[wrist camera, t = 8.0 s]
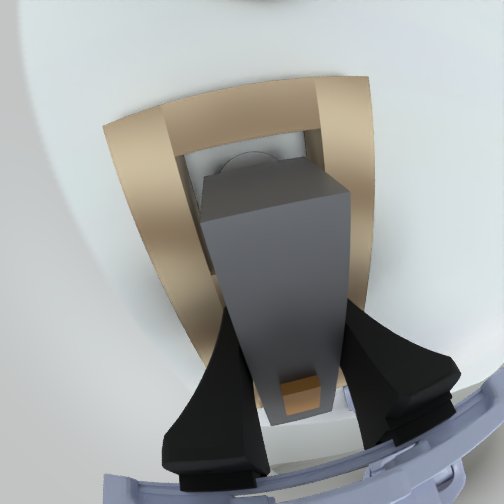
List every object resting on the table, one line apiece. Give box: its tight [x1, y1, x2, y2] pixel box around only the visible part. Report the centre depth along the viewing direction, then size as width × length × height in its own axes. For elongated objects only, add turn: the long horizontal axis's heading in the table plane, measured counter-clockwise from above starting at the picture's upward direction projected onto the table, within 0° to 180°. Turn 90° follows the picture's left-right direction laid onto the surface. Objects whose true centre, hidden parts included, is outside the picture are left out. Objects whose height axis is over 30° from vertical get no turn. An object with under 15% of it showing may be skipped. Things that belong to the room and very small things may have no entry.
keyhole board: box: [102, 76, 375, 408], centre depth 15 cm, size 22×10×2 cm, turn 10°
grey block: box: [200, 152, 351, 426], centre depth 12 cm, size 13×4×7 cm, turn 10°
